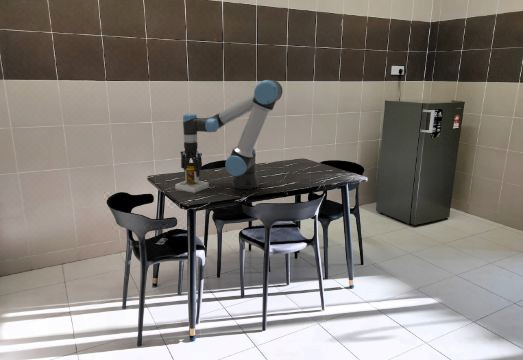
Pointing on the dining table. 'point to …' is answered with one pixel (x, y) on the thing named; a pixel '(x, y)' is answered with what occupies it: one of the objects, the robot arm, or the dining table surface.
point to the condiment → (190, 174)
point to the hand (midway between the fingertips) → (192, 181)
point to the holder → (192, 187)
